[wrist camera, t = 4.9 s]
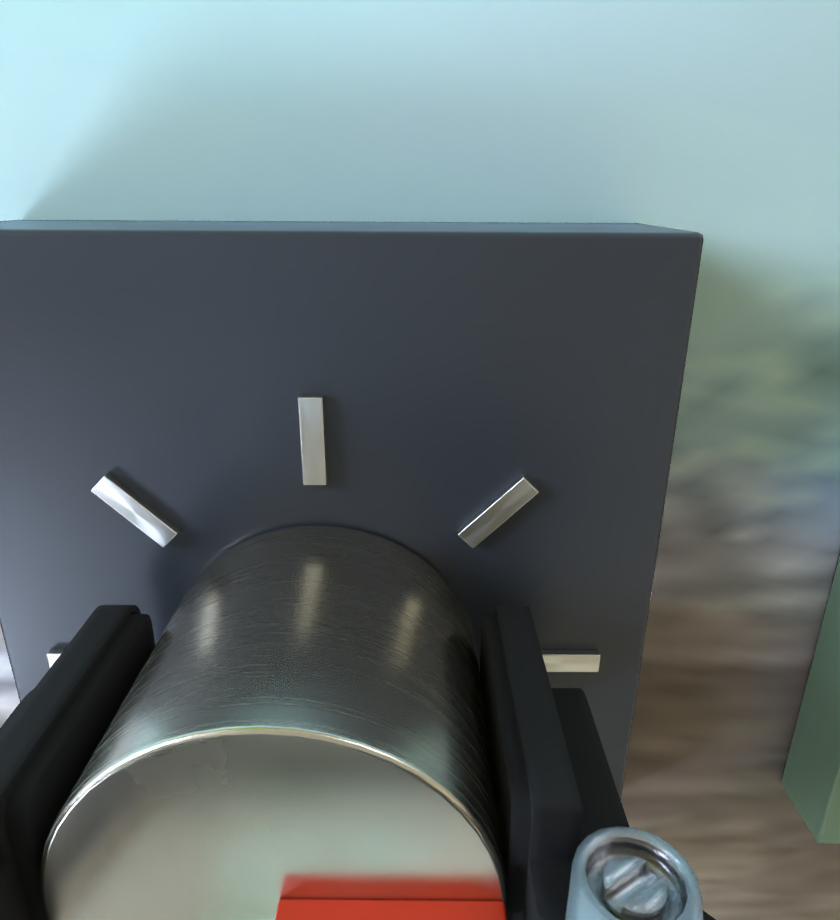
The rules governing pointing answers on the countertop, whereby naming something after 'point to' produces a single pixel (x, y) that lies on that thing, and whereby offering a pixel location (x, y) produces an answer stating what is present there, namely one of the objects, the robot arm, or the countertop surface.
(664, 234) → the dial panel
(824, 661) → the button block
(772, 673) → the countertop surface
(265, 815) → the dial
